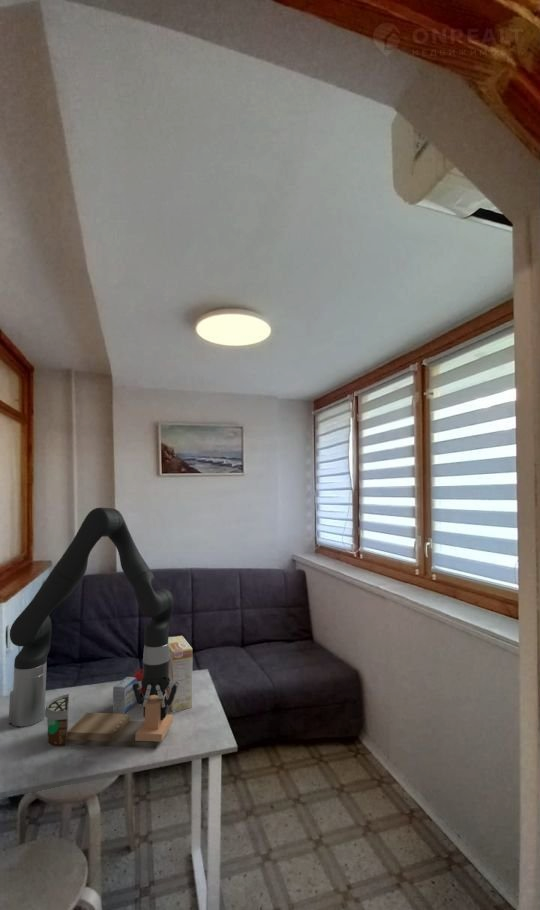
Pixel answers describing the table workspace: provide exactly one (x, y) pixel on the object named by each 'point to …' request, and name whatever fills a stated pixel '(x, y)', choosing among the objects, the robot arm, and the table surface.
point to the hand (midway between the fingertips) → (155, 718)
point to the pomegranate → (140, 678)
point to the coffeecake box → (180, 672)
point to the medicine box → (124, 695)
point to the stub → (153, 722)
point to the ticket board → (121, 739)
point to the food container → (57, 720)
